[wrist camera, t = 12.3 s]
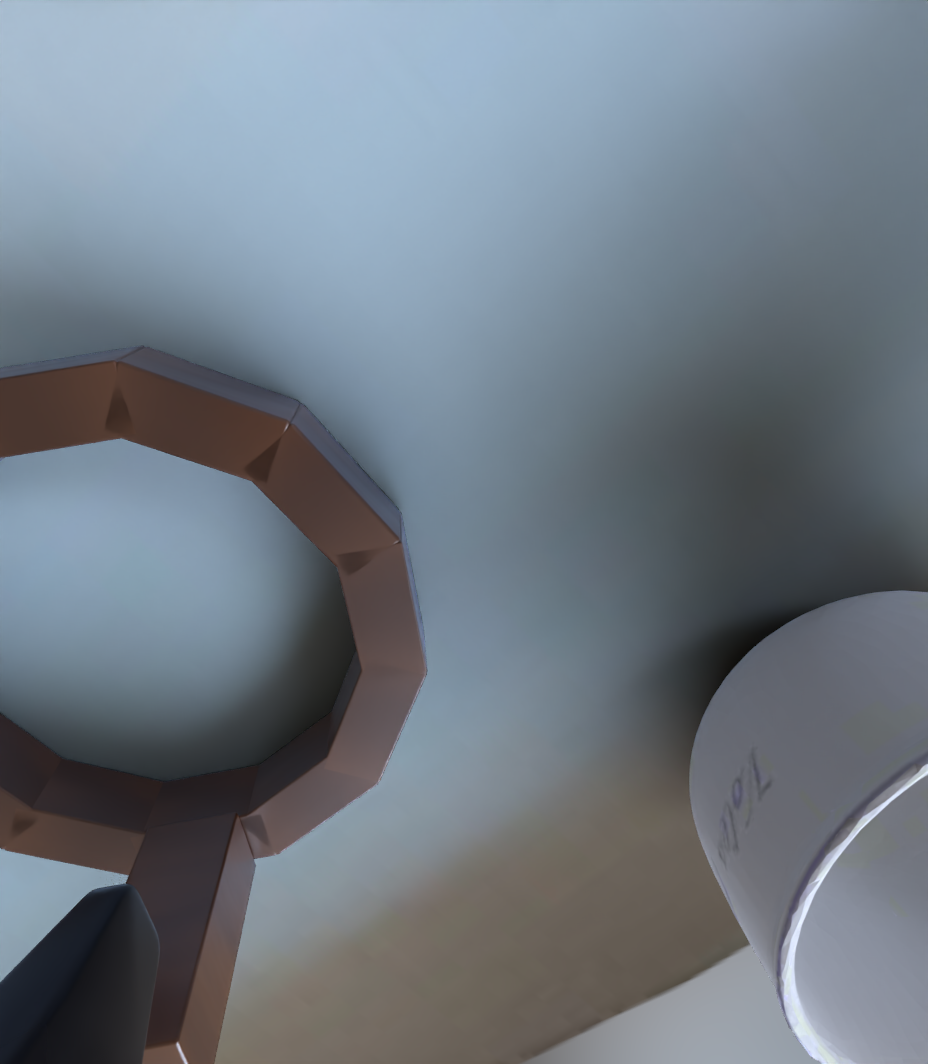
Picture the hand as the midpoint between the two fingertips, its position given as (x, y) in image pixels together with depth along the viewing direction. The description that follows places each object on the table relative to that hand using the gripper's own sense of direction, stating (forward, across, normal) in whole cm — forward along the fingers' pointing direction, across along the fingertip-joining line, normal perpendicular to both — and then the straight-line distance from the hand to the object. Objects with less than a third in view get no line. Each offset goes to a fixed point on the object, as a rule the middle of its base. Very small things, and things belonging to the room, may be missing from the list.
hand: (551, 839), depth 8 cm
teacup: (+12, -10, +10) cm, 19 cm away
